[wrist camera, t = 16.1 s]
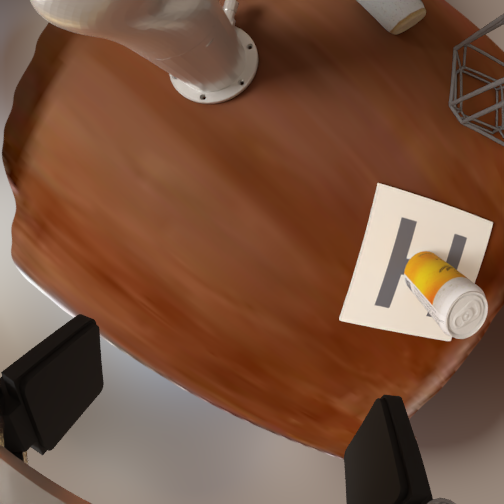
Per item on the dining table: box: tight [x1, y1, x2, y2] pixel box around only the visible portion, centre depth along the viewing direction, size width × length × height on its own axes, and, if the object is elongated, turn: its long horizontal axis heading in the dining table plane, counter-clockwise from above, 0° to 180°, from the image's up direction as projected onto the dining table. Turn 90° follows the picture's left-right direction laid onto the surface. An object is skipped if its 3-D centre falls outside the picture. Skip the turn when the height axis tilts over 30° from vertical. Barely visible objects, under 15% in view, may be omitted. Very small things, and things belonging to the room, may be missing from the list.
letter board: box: [339, 183, 493, 341], centre depth 40 cm, size 20×20×1 cm
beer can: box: [404, 251, 488, 339], centre depth 32 cm, size 6×6×15 cm
